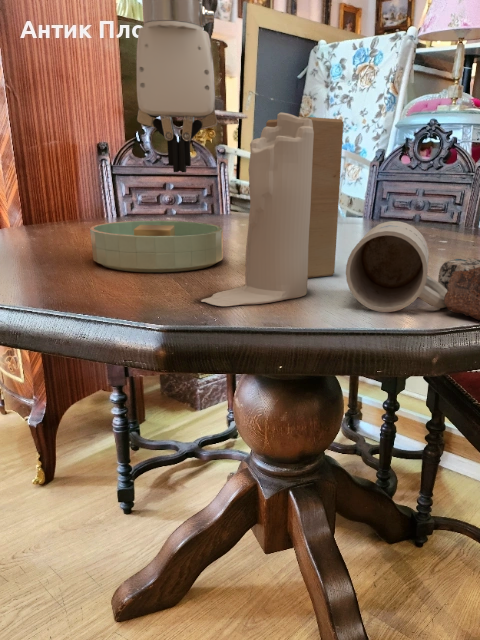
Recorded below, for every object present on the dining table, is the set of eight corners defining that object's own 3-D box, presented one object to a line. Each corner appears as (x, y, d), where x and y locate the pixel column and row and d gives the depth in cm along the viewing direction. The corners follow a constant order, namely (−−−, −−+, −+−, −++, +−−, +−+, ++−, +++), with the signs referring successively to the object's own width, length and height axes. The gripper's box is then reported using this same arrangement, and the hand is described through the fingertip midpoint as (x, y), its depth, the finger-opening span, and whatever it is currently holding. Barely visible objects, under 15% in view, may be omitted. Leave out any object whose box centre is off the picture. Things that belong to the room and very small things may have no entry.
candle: (189, 298, 64) (182, 104, 56) (279, 283, 73) (283, 114, 65) (228, 311, 59) (225, 100, 52) (319, 293, 68) (328, 112, 60)
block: (136, 265, 79) (133, 229, 77) (142, 259, 83) (139, 224, 81) (172, 266, 79) (170, 229, 77) (176, 259, 84) (174, 225, 82)
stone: (464, 273, 63) (452, 259, 61) (529, 270, 58) (518, 255, 56) (450, 326, 62) (437, 314, 60) (514, 328, 57) (503, 315, 55)
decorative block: (262, 265, 85) (264, 119, 77) (294, 262, 87) (299, 122, 80) (302, 279, 76) (308, 116, 68) (336, 275, 79) (345, 119, 71)
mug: (343, 258, 70) (329, 273, 61) (392, 205, 66) (386, 213, 57) (413, 326, 71) (409, 350, 62) (465, 277, 67) (470, 296, 58)
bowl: (76, 272, 76) (71, 234, 74) (112, 250, 94) (109, 219, 92) (217, 275, 77) (216, 238, 75) (226, 252, 95) (226, 222, 93)
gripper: (231, 28, 76) (233, 172, 83) (118, 22, 74) (130, 170, 81) (232, 15, 69) (233, 174, 76) (107, 8, 67) (121, 171, 74)
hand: (180, 171), depth 78 cm, fingers closed
